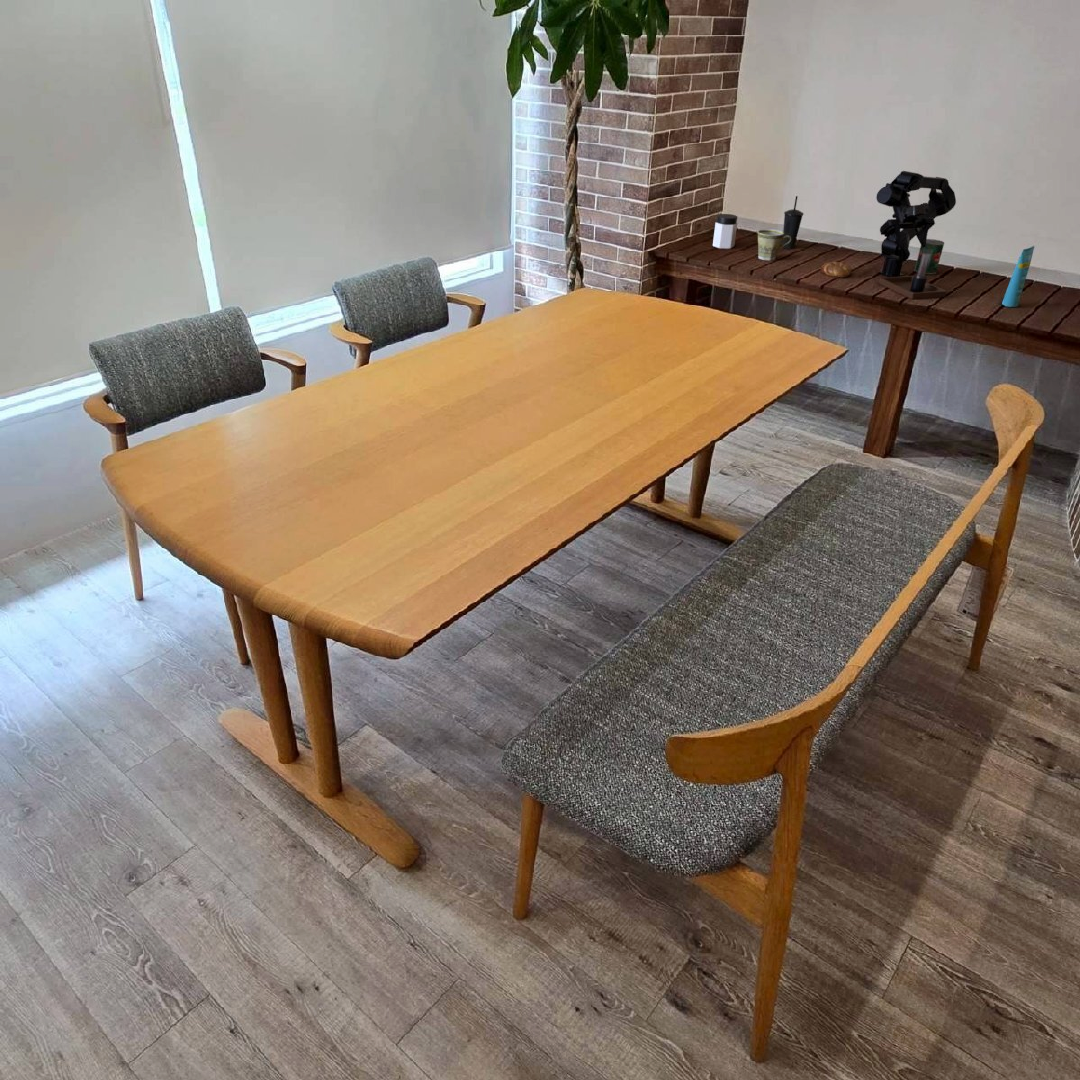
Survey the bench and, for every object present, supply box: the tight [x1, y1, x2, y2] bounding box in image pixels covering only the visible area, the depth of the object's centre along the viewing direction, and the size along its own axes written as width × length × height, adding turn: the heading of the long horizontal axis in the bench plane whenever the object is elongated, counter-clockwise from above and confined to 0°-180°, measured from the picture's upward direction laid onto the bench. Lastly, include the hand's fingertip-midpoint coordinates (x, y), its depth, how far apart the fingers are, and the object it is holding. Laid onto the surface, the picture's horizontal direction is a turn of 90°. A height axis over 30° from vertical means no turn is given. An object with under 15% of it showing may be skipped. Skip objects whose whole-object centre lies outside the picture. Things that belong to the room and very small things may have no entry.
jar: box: [712, 213, 738, 250], centre depth 343 cm, size 9×8×12 cm
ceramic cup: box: [757, 228, 791, 262], centre depth 328 cm, size 13×10×10 cm
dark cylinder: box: [910, 252, 931, 293], centre depth 291 cm, size 4×4×13 cm
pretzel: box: [820, 261, 852, 279], centre depth 312 cm, size 12×11×4 cm
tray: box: [878, 275, 948, 300], centre depth 297 cm, size 20×14×2 cm
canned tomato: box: [914, 238, 945, 275], centre depth 315 cm, size 8×8×11 cm
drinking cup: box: [781, 195, 805, 250], centre depth 341 cm, size 8×8×20 cm
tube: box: [1001, 245, 1035, 308], centre depth 279 cm, size 7×5×19 cm, turn 134°
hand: (913, 247), depth 294 cm, fingers open, 9 cm apart
